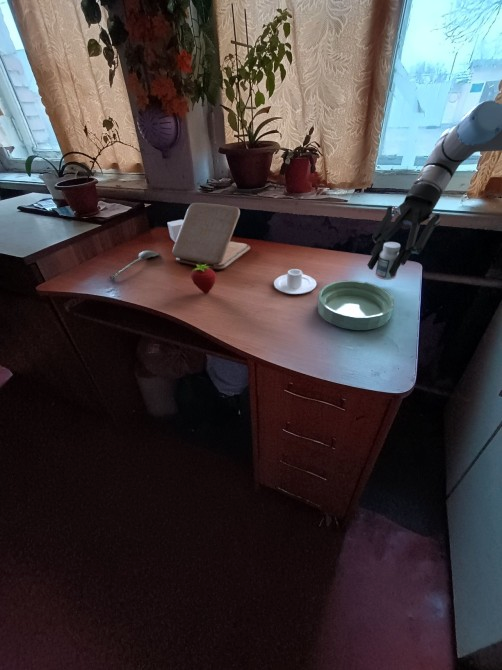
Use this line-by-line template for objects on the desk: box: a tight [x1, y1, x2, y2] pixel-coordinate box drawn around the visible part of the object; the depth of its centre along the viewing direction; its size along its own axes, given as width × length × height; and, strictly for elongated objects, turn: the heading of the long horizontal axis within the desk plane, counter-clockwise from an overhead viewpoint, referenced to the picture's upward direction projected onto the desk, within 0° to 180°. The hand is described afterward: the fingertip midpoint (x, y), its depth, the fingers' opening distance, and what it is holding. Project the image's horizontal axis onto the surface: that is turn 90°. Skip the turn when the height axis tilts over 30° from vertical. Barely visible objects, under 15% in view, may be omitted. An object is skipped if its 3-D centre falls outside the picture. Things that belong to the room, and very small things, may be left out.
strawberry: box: [190, 264, 217, 295], centre depth 85 cm, size 6×8×10 cm
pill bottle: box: [374, 241, 401, 281], centre depth 82 cm, size 5×5×9 cm
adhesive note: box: [167, 219, 184, 243], centre depth 122 cm, size 6×6×6 cm
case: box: [171, 202, 251, 271], centre depth 104 cm, size 20×21×16 cm
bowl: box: [316, 280, 395, 331], centre depth 76 cm, size 17×17×4 cm
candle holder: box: [273, 268, 317, 295], centre depth 88 cm, size 12×12×4 cm
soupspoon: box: [109, 249, 160, 282], centre depth 104 cm, size 22×3×7 cm
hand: (380, 270), depth 81 cm, fingers closed on pill bottle, 5 cm apart
